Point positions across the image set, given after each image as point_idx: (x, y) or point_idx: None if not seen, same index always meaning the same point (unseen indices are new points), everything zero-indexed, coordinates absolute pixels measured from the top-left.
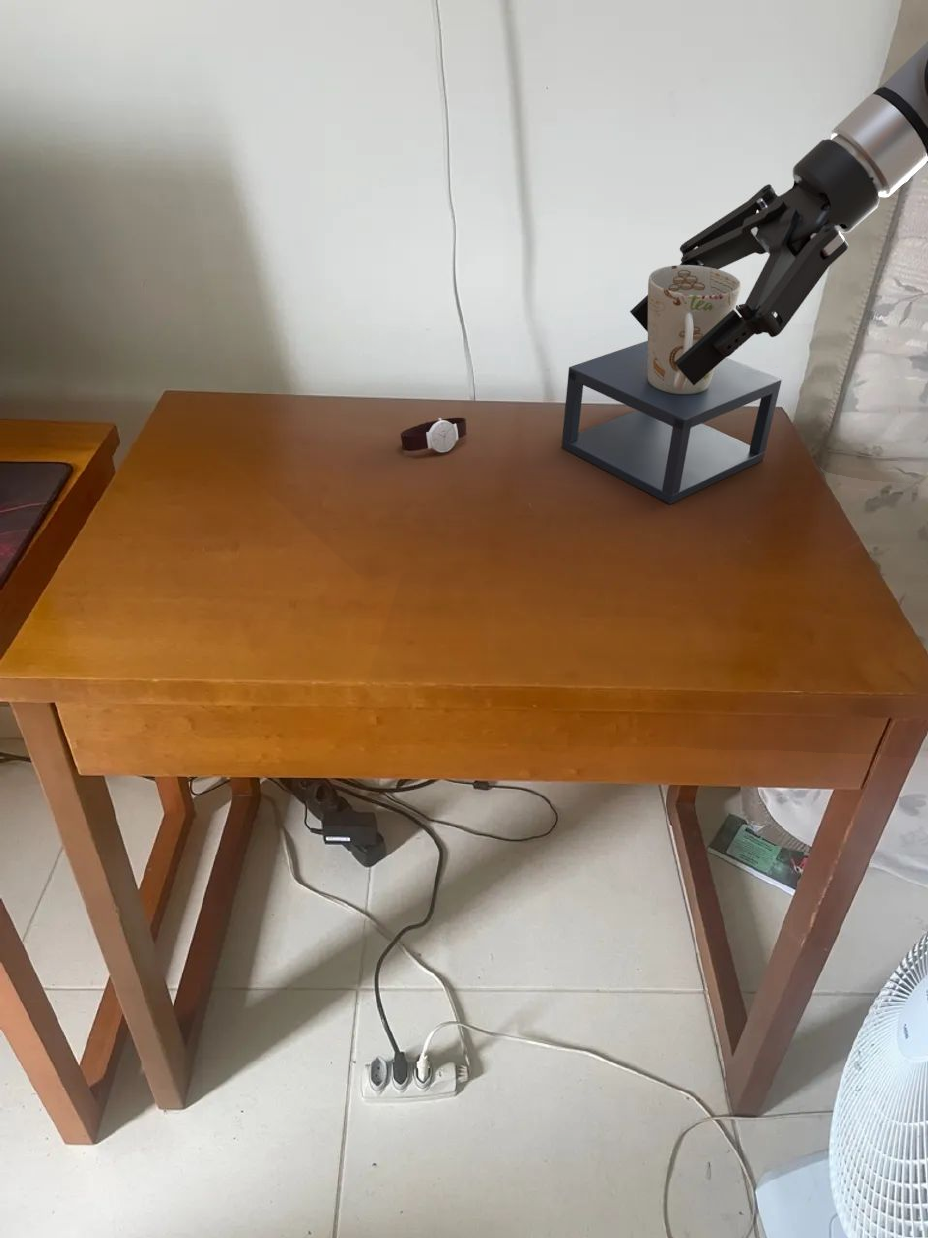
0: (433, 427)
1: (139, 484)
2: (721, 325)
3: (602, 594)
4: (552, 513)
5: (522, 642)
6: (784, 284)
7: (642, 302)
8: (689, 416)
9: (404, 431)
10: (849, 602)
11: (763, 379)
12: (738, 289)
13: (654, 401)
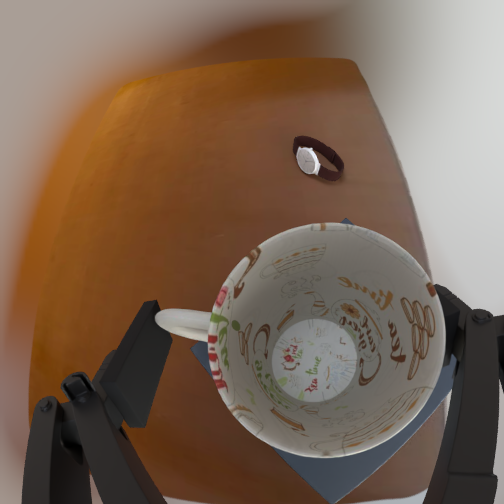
0: (303, 148)
1: (247, 64)
2: (113, 357)
3: (103, 282)
4: (206, 252)
5: (76, 234)
6: (31, 460)
7: None
8: (198, 356)
9: (312, 138)
10: None
11: (331, 482)
12: (271, 445)
13: None
